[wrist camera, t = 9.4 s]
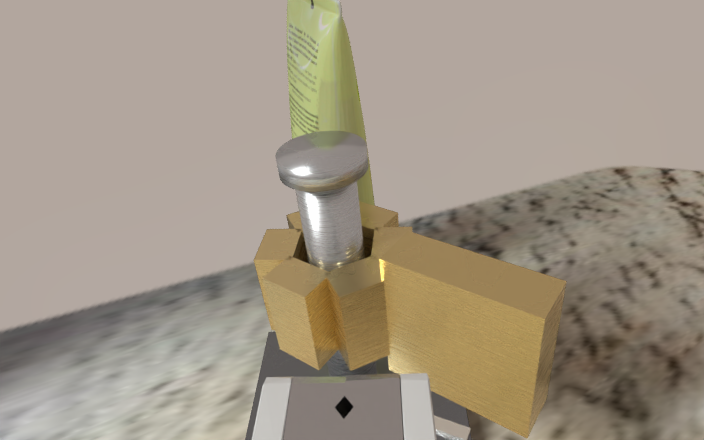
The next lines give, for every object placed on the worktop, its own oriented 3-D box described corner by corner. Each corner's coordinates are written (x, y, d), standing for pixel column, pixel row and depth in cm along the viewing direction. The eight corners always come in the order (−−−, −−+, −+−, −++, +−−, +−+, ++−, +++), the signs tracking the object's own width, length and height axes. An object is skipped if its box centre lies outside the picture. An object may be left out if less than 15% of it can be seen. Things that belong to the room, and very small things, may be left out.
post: (238, 506, 24) (126, 237, 15) (271, 343, 32) (210, 111, 24) (480, 500, 23) (501, 212, 15) (450, 334, 31) (453, 90, 23)
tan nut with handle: (502, 488, 17) (516, 368, 14) (248, 345, 24) (218, 240, 21) (565, 361, 22) (586, 245, 18) (333, 269, 28) (318, 171, 25)
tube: (403, 283, 36) (386, -25, 25) (374, 334, 32) (339, -2, 21) (331, 266, 38) (287, -23, 27) (296, 312, 34) (229, -1, 24)
